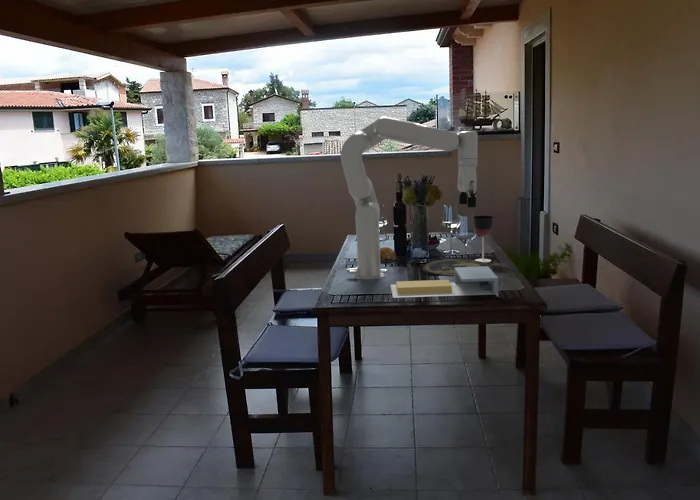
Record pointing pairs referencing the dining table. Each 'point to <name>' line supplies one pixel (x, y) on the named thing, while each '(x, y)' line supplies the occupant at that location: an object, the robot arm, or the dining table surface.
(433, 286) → the ochre panel
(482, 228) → the wineglass
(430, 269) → the decorative plate
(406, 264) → the dining table surface
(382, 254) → the bread roll
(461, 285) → the overhang dock
